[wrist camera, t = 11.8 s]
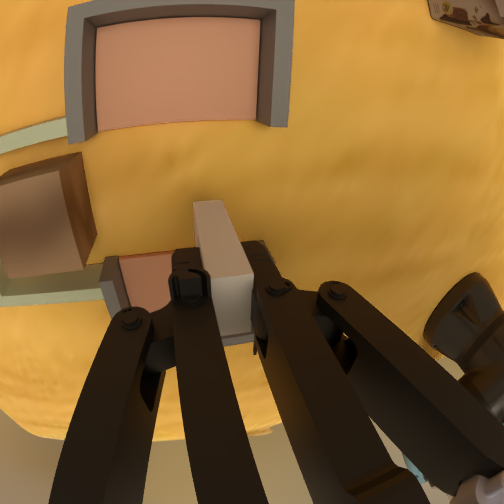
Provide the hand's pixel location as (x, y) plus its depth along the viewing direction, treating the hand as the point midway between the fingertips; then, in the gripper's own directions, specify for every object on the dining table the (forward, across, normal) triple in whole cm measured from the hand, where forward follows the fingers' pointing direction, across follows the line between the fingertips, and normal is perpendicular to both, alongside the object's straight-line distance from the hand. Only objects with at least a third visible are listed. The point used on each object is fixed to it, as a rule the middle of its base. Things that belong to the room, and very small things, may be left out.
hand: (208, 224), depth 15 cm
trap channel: (+5, +6, 0) cm, 8 cm away
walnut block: (+5, +11, -1) cm, 12 cm away
